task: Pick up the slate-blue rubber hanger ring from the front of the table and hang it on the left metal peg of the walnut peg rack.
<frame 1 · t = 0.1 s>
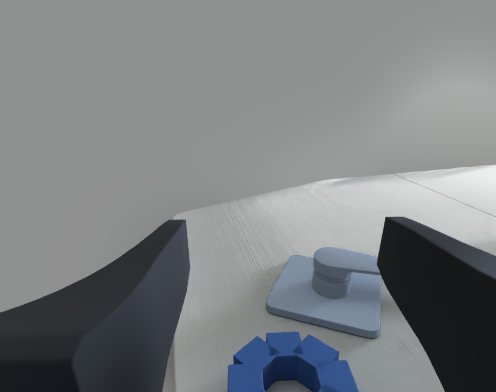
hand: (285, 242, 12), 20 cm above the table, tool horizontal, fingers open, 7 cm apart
shower valve: (337, 296, 40), on the table
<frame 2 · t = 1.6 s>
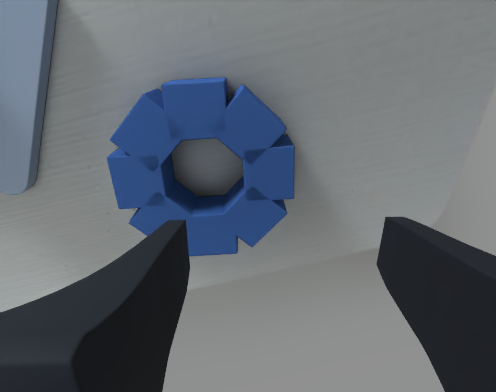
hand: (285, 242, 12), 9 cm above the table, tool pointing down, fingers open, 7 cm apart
hanger ring: (208, 163, 20), on the table
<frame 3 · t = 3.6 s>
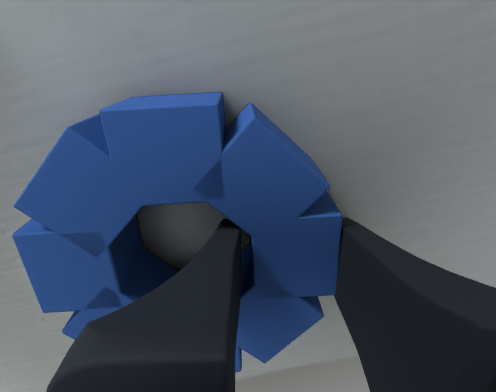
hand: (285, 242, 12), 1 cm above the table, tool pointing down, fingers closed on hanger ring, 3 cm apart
hanger ring: (194, 224, 13), on the table, touching gripper
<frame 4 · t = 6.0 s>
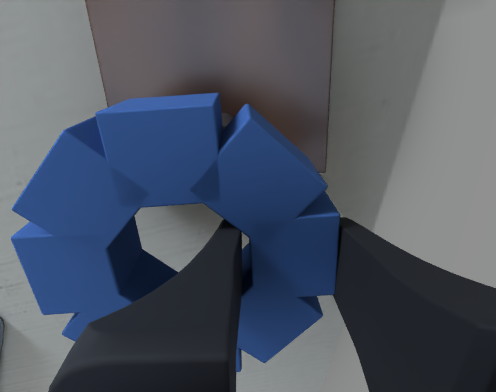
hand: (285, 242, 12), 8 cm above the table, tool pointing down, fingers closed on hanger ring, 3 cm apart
hanger ring: (193, 225, 13), point 7 cm above the table, touching gripper
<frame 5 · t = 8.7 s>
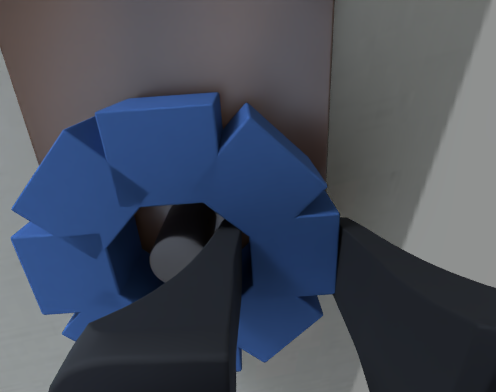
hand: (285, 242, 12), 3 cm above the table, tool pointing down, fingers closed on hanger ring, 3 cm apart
peg rack: (172, 16, 12), on the table
hanger ring: (193, 225, 13), point 2 cm above the table, touching gripper
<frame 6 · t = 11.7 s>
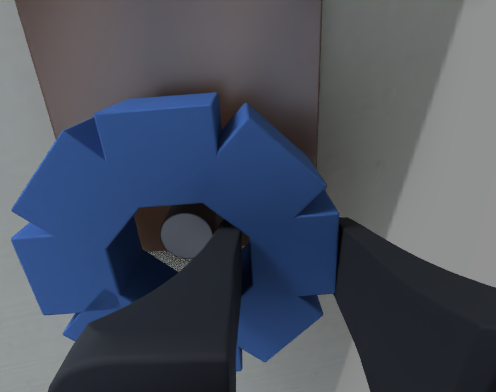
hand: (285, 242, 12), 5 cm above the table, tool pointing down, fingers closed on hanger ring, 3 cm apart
peg rack: (179, 20, 13), on the table
hanger ring: (193, 225, 13), point 4 cm above the table, touching gripper
when the fingers open (5 cm above the table, at t = 14.0 s): hanger ring drops 2 cm, resting on peg rack.
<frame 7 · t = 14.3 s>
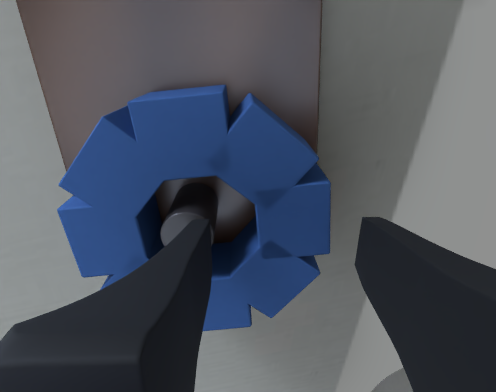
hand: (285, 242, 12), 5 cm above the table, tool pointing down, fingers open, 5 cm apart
peg rack: (179, 21, 13), on the table
hanger ring: (206, 202, 15), point 1 cm above the table, touching peg rack
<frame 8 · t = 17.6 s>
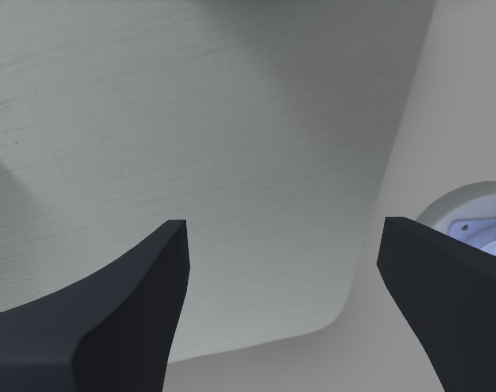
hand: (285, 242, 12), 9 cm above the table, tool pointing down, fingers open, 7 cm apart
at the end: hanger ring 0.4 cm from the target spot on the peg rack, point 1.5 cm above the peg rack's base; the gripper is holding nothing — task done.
